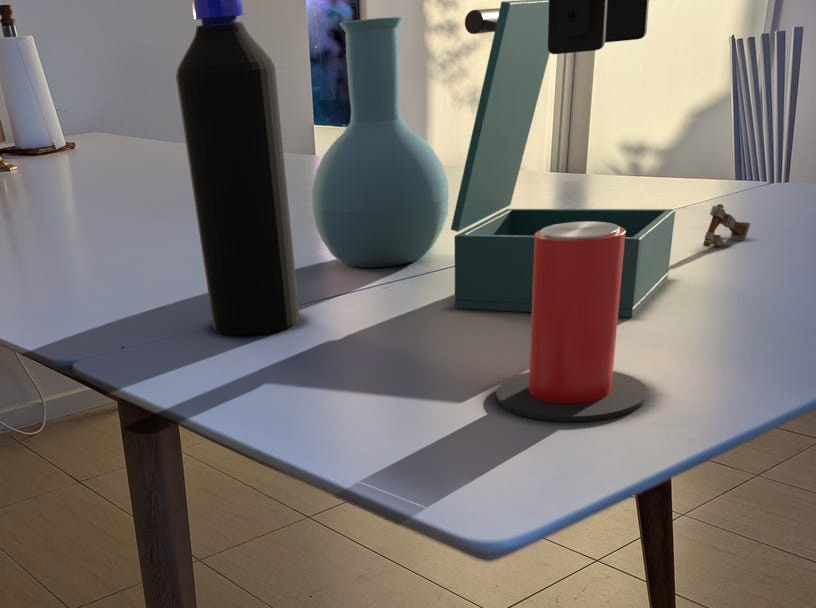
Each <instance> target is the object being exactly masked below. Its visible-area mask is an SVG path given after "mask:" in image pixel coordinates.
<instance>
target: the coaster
mask: <svg viewBox="0 0 816 608" xmlns="http://www.w3.org/2000/svg"><path fill="white" fill-rule="evenodd" d="M648 395H649V390H648V387H647V386H646V385H645V383H644V382H642V381H641V380H639V379H638V378H636V377H634V376H631V375H629V374H626V373H623V372H619V371H614V370H613V376H612V387H611V392H610V394H609V395H608V396H606V397H604V398H602V399H599V400H596V401H592V402H587V403H578V404H560V403H551V402H546V401H542V400H539V399H537V398H535V397H533V396H532V395H531V394H530V393H529V371H528V372H524V373H520V374H518V375H515V376H512V377H510V378H507V379H505V380H504V381H503V382H501V383H500V384H499V385H498V386H497V388H496V391H495V400H496V403H497V404H498V405H499V406H500V407H501V408H502V409H504V410H505V411H508V412H510V413H512V414H515V415H518V416H521V417H524V418H528V419H534V420H540V421H548V422H558V423H559V422H560V423H563V422H566V423H575V422H576V423H577V422H578V423H580V422H594V421H601V420H606V419H607V420H608V419H612V418H616V417H620V416H623V415H626V414H629V413H632V412H634V411H636V410H638V409H639V408H641V407H642V406H643V405H644V404H645V403H646V402H647V399H648Z"/></svg>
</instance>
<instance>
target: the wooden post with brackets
mask: <svg viewBox="0 0 816 608" xmlns="http://www.w3.org/2000/svg"><path fill="white" fill-rule="evenodd" d="M724 207H725V206H724V205H723V204H722V203H717V204H716V205H712V206H711V209H710V213H709V215H710V216H711V217H712V218H711V221H710V224H709V226H708V229H707V231H706V232H705V235H704V239H703V243H702V246H704V247H708V248H709V247H711V245H713V247H721V248H722V247H723V244H724V243H723V242H724V240H725V237H722V235H721V234H715V232H716V229H717V228H718V227H719V226H720V225H721V226H723V227H724V228H727V229H729V230H730V236H729V237H730V239H735V240H736V239H737V240H746V238H747V235H748V232H749V230H750V226H751V222H743V221H736V218H734V217H733V215H731V214H730V213H726V209H724Z"/></svg>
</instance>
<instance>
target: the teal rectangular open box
mask: <svg viewBox="0 0 816 608" xmlns="http://www.w3.org/2000/svg"><path fill="white" fill-rule="evenodd" d="M675 217H676V209H675V208H505V209H503V210H502V211H499V212H497V214H496V213H495V214H494V215H493V216H492V215H491V216H490V217H488V218H487V219H485V220H483V221H481V222H478V223H477V224H475V225H473V226H471V227H468V228H466V229H465V230H464V231H462V232H459V233H458V234H455V235H454V308H455V309H463V310H479V311H480V310H483V311H484V310H485V311H503V312H517V313H518V312H520V313H532V289H533V263H534V237H535V233H536V232H537V231H539V230H542V229H543V228H545V227H548V226H551V225H556V224H561V223H570V222H606V223H612V224H616V225H618V226H619V227H622V228H624V229H625V242H624V253H623V264H622V275H621V287H620V298H619V309H618V318H628V319H629V318H633V317H634V316H635V315H636V314H637V313H638V312H639V311H640V310H641V309H642V308H643V307H644V305H646V303H647V302H648V301H649V300H650V299H651V298H652V297H653V296H654V295H655V294H656V293H657V292H658V291H659V290H660V289H661V288H662V287H663V286H664V284H666V283H667V282H668V279H669V270H670V261H671V254H672V253H671V252H672V244H673V235H674V227H675V220H676V219H675Z"/></svg>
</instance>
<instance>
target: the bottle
mask: <svg viewBox="0 0 816 608" xmlns="http://www.w3.org/2000/svg"><path fill="white" fill-rule="evenodd" d="M191 2H192V13H193V20H196V21H198V20H199V21H201V23H200V24H201V25H196V27H195V28H196V29H195V33H194V37H193V39H192V40H191V43H190V45H189V47H188V48H187V50H186V52H185V53H184V55H183V57H182V58H181V60H180V63H179V65H178V67H177V68H176V69H177V70H176V74H175V79H176V85H177V93H178V99H179V107H180V113H181V119H182V120H181V121H182V126H183V133H184V139H185V146H186V152H187V159H188V166H189V173H190V179H191V186H192V192H193V198H194V207H195V213H196V220H197V226H198V233H199V239H200V247H201V253H202V260H203V266H204V267H203V268H204V272H205V279H206V286H207V287H206V288H207V293H208V300H209V306H210V312H211V321H212V326H213V329H214V330H215V331H217V332H218V333H219V334H223V335H226V336H227V335H228V336H236V337H237V336H238V337H247V336H259V335H261V336H262V335H267V334H273V333H276V332H277V333H278V332H280V331H284V330H287V329H289V328H291V327H294V326H295V325H296V324H297V322H299V320H300V307H299V297H298V288H297V287H298V286H297V278H296V277H297V276H296V268H295V267H296V266H295V258H294V250H293V249H294V247H293V237H292V228H291V217H290V208H289V207H290V206H289V205H290V204H289V197H288V187H287V176H286V166H285V156H284V155H285V154H284V145H283V135H282V125H281V116H280V115H281V114H280V105H279V94H278V85H277V75H276V67H275V64H274V61H273V59H272V57H270V56H269V55H268V54H267V52H266V51H265V50H264V49H263V48H262V47H261V46H260V44H258V43H257V42H256V41H255V39H254V38H253V37H252V35H251V34H250V33H249V32H248V31H247V29H246V27H245V24H244V22H243V21H238V19H237V17H241V16H244V7H243V2H242V0H192V1H191Z"/></svg>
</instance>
